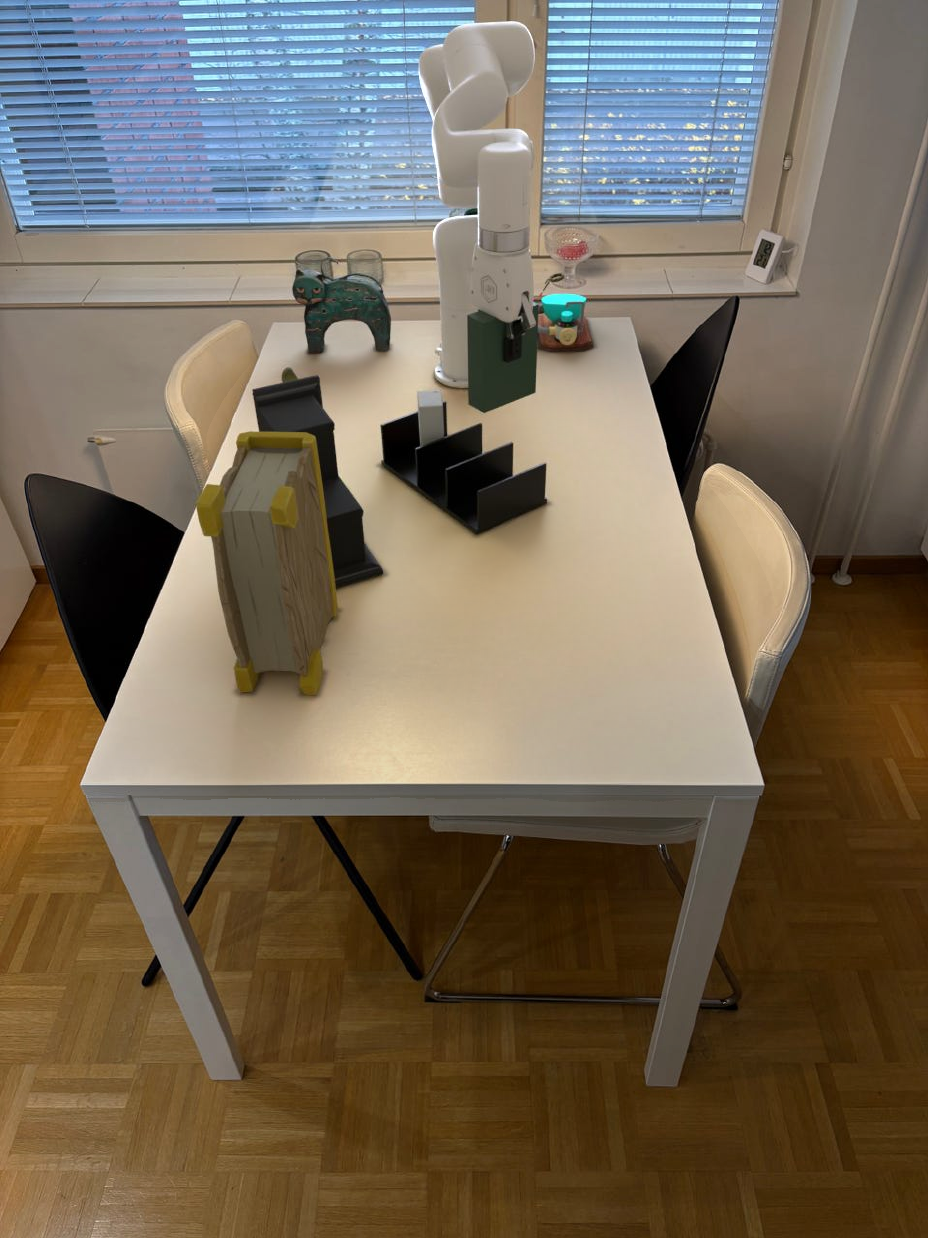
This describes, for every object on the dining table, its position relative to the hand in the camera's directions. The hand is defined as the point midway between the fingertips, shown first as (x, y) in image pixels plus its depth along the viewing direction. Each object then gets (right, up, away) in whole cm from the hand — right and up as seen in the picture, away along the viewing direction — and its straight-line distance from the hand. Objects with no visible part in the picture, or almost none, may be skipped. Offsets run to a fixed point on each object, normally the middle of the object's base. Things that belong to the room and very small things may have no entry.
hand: (502, 353), depth 154 cm
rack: (-7, -18, +16) cm, 25 cm away
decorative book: (-30, -47, -17) cm, 58 cm away
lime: (-41, +5, +44) cm, 60 cm away
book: (0, -6, +5) cm, 8 cm away
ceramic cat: (-32, +17, +59) cm, 69 cm away
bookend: (-28, -30, +2) cm, 41 cm away
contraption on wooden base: (+15, +21, +63) cm, 68 cm away
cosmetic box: (-12, -13, +21) cm, 27 cm away
